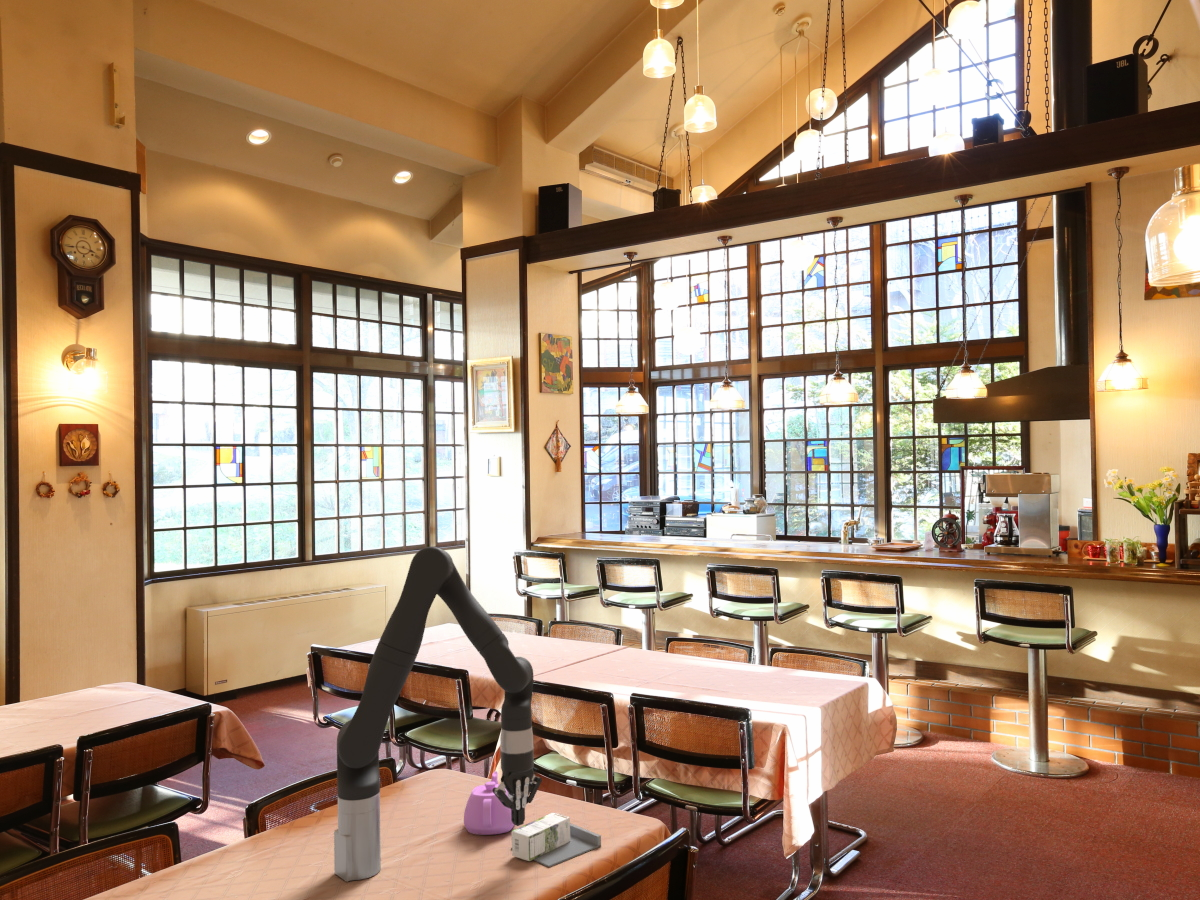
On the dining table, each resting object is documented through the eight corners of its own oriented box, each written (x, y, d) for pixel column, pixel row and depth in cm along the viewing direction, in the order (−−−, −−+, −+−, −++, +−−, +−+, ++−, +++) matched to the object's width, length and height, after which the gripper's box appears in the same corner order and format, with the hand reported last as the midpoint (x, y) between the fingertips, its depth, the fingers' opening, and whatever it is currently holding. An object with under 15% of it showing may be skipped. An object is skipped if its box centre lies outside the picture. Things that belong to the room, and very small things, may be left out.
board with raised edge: (548, 867, 193) (548, 856, 193) (511, 849, 203) (510, 838, 203) (601, 846, 203) (600, 835, 204) (562, 830, 214) (562, 819, 214)
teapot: (520, 811, 227) (520, 768, 228) (513, 842, 207) (513, 795, 208) (470, 812, 227) (469, 769, 228) (458, 843, 207) (457, 796, 208)
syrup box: (511, 856, 198) (553, 835, 210) (529, 862, 195) (571, 840, 206) (510, 830, 199) (552, 811, 210) (529, 836, 195) (571, 816, 206)
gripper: (503, 757, 190) (504, 837, 189) (549, 744, 199) (551, 820, 198) (483, 750, 195) (484, 828, 194) (529, 737, 204) (530, 812, 203)
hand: (518, 824), depth 196 cm, fingers closed
